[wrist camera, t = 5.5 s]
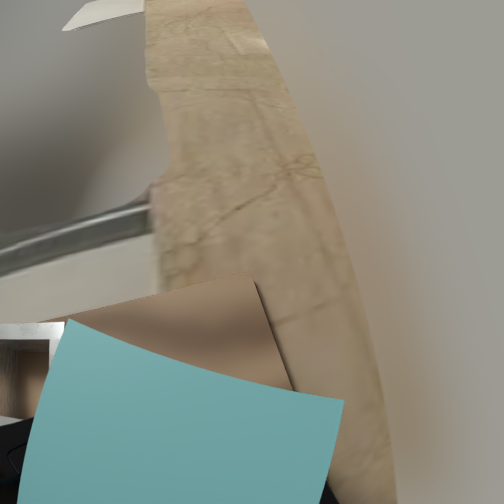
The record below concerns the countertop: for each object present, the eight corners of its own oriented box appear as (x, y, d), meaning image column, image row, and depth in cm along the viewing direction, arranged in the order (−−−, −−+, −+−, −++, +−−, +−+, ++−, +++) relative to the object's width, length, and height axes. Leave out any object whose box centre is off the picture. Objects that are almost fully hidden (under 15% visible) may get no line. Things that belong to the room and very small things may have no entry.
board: (329, 497, 16) (334, 501, 15) (53, 535, 12) (46, 538, 11) (249, 277, 25) (249, 270, 24) (9, 334, 20) (2, 330, 19)
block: (243, 488, 11) (267, 625, 2) (160, 464, 11) (14, 530, 2) (264, 413, 13) (344, 400, 4) (182, 390, 13) (68, 318, 4)
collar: (91, 441, 16) (68, 443, 13) (10, 430, 15) (-16, 427, 12) (85, 336, 20) (64, 321, 17) (10, 337, 19) (-14, 324, 16)
